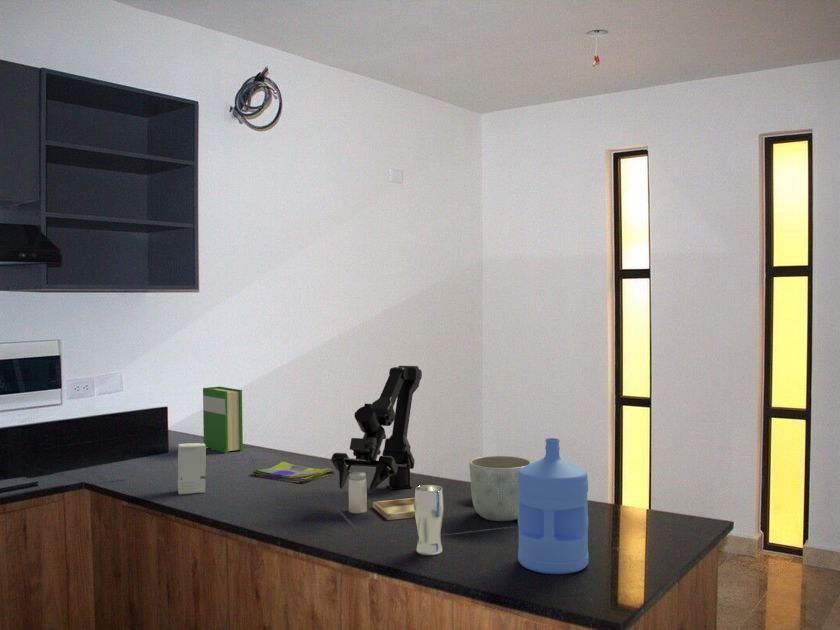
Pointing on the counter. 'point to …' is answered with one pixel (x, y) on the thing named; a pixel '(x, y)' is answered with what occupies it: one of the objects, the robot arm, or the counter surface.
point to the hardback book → (222, 419)
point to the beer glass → (429, 518)
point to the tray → (396, 508)
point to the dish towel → (292, 473)
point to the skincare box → (191, 468)
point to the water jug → (553, 514)
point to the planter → (496, 486)
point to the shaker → (357, 492)
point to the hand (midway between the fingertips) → (355, 489)
